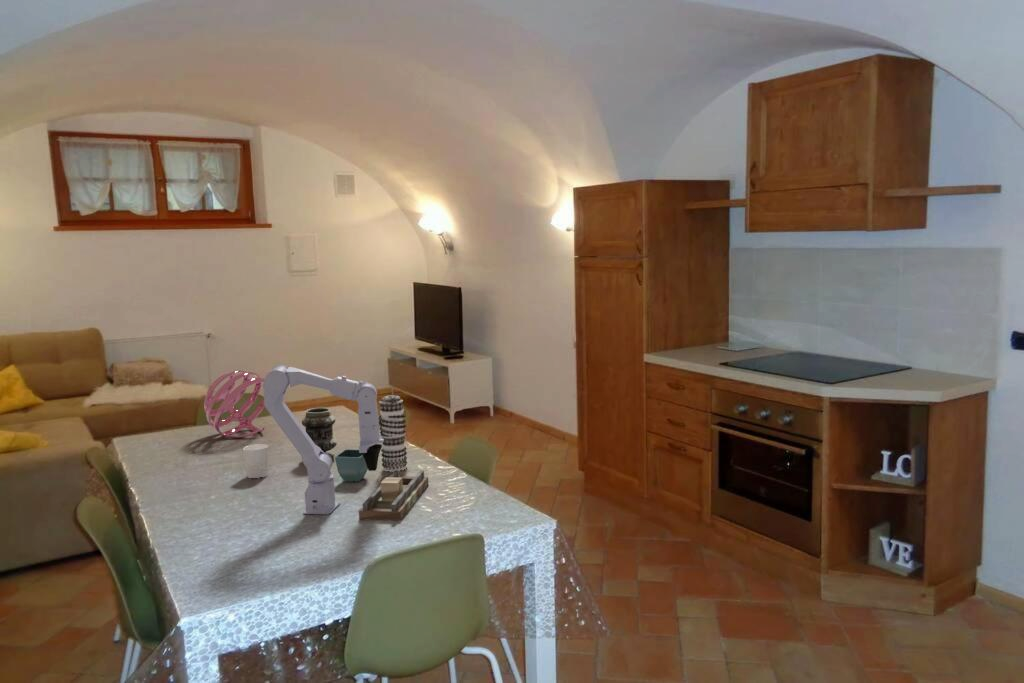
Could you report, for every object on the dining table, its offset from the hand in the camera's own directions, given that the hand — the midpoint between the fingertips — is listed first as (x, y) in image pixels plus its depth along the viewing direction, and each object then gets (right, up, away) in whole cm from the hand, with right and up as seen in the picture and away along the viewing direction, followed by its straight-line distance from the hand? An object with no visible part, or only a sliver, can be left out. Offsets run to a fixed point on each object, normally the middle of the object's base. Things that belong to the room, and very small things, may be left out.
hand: (372, 470), depth 228 cm
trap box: (+7, -10, +4) cm, 12 cm away
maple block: (+6, -8, 0) cm, 10 cm away
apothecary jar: (-28, -5, +52) cm, 60 cm away
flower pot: (-11, -8, +26) cm, 29 cm away
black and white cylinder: (+1, -6, +37) cm, 38 cm away
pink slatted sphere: (-72, -1, +93) cm, 117 cm away
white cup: (-45, -8, +34) cm, 57 cm away
